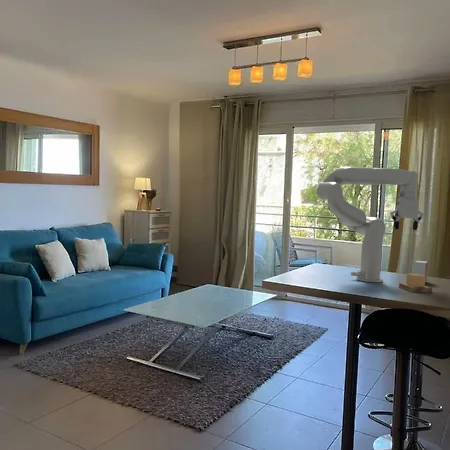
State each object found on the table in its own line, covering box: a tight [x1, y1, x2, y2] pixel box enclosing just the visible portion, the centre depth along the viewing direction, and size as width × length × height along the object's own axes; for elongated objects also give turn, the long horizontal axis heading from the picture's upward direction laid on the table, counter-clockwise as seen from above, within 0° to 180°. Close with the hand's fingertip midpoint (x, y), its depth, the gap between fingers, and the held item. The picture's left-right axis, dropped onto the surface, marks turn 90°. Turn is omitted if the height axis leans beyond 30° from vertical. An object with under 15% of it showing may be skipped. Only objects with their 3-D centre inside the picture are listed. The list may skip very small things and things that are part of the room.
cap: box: [405, 273, 426, 287], centre depth 207 cm, size 6×6×5 cm
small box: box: [412, 260, 429, 283], centre depth 231 cm, size 8×6×10 cm
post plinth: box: [398, 282, 433, 293], centre depth 207 cm, size 10×10×5 cm
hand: (405, 229), depth 230 cm, fingers open, 9 cm apart
